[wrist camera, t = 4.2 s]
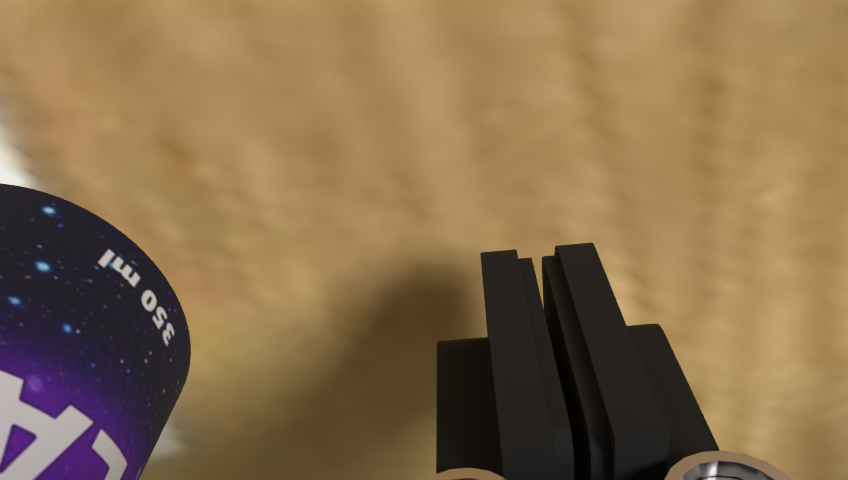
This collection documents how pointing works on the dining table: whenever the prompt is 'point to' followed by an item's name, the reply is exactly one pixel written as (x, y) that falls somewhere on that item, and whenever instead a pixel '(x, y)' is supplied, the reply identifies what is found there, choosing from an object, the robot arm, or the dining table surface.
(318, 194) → the dining table surface
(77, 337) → the beverage can
